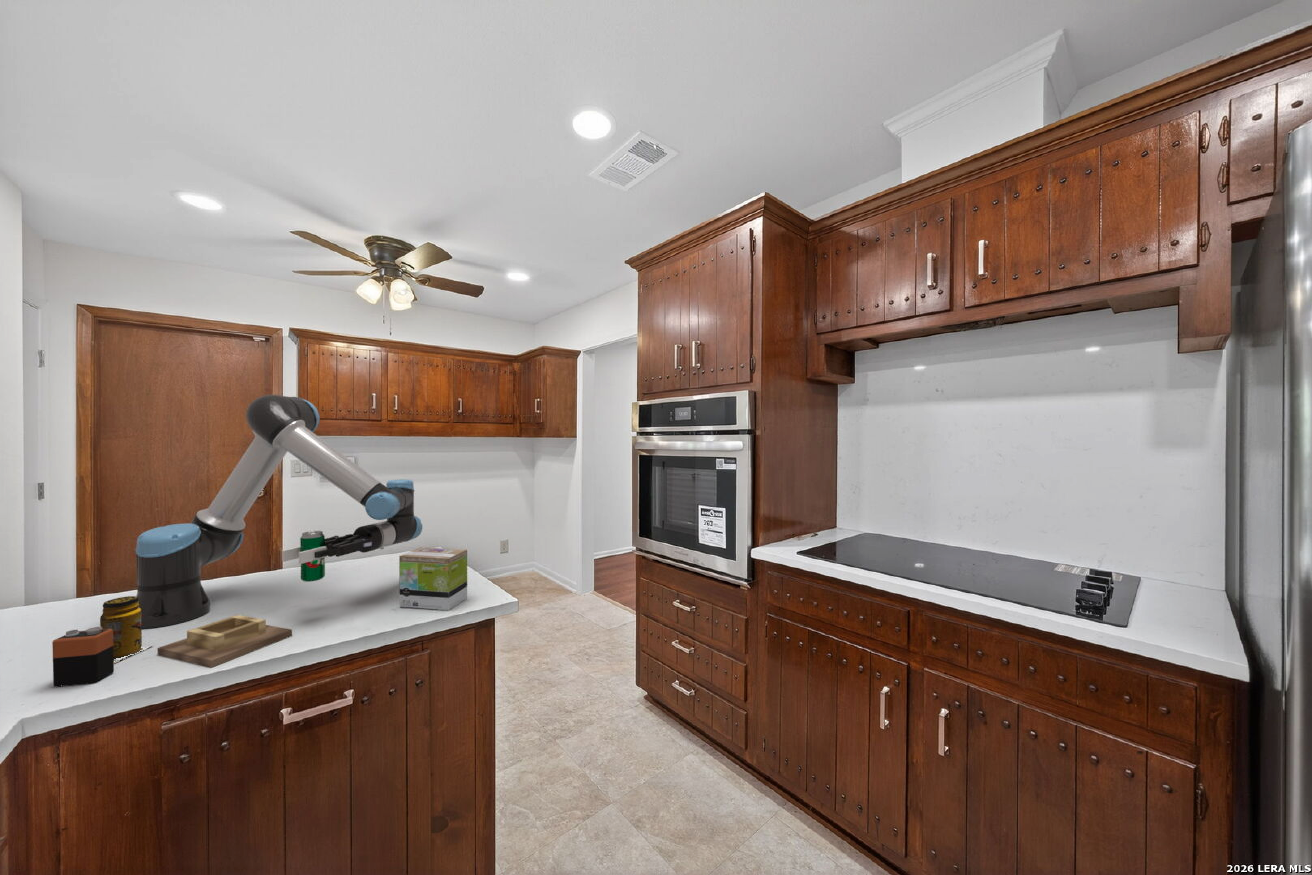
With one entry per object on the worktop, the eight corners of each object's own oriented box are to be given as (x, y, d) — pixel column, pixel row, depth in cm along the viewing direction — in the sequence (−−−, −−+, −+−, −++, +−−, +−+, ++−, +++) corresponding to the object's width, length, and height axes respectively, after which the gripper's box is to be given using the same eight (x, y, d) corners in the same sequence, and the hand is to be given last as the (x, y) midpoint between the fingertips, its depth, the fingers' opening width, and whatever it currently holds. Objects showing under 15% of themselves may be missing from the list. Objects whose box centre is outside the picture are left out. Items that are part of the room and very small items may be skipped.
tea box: (398, 608, 131) (397, 554, 131) (421, 596, 141) (420, 546, 141) (449, 611, 129) (448, 556, 129) (468, 598, 139) (468, 547, 139)
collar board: (157, 654, 104) (157, 634, 104) (241, 626, 120) (240, 608, 120) (211, 667, 99) (211, 645, 99) (292, 635, 114) (291, 617, 114)
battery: (96, 683, 93) (94, 632, 93) (51, 688, 91) (50, 635, 91) (115, 672, 97) (114, 623, 97) (73, 676, 95) (72, 626, 95)
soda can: (308, 576, 125) (308, 530, 125) (329, 575, 125) (328, 530, 125) (296, 582, 120) (295, 534, 120) (317, 581, 120) (317, 534, 120)
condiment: (153, 646, 108) (152, 594, 108) (112, 665, 100) (111, 608, 100) (120, 647, 108) (119, 594, 108) (76, 665, 100) (75, 608, 100)
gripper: (398, 552, 137) (318, 575, 115) (350, 547, 142) (265, 569, 120) (397, 525, 137) (318, 544, 115) (349, 522, 142) (265, 539, 120)
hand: (291, 557), depth 117 cm, fingers closed on soda can, 5 cm apart
